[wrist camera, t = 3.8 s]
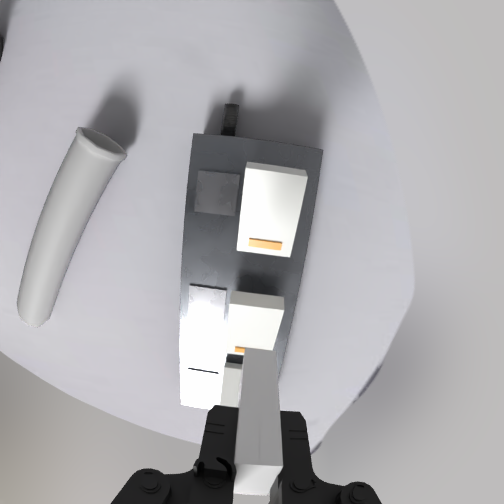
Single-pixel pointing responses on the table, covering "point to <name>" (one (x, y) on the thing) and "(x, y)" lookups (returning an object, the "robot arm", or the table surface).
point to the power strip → (231, 252)
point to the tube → (65, 220)
